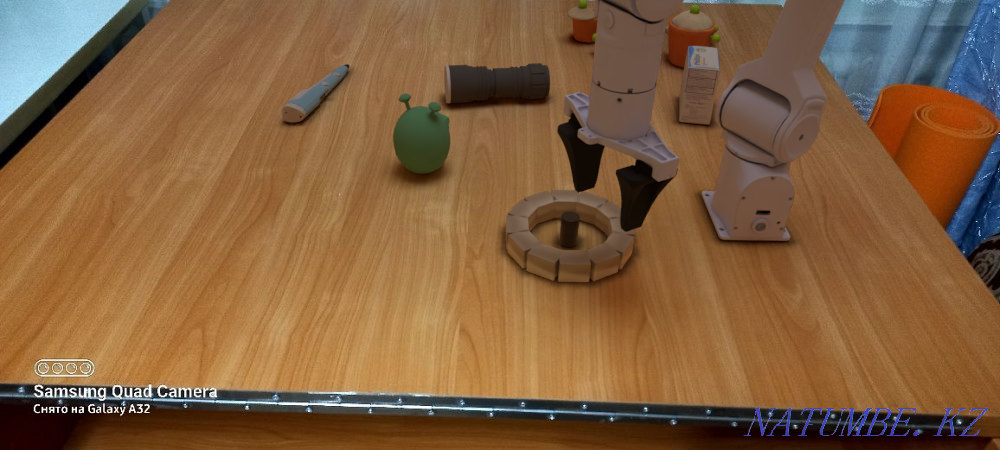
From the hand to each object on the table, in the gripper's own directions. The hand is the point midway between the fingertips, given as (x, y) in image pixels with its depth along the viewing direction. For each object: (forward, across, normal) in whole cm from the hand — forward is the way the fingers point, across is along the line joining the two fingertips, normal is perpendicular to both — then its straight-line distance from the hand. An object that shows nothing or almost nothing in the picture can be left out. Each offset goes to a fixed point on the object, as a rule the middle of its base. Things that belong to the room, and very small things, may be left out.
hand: (607, 207), depth 73 cm
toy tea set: (+8, -45, +42) cm, 62 cm away
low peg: (+8, -6, 0) cm, 10 cm away
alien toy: (+8, -27, -7) cm, 29 cm away
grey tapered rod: (+8, -53, -12) cm, 55 cm away
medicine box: (+8, -23, +34) cm, 42 cm away
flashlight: (+8, -40, +11) cm, 42 cm away
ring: (+8, -6, 0) cm, 10 cm away
